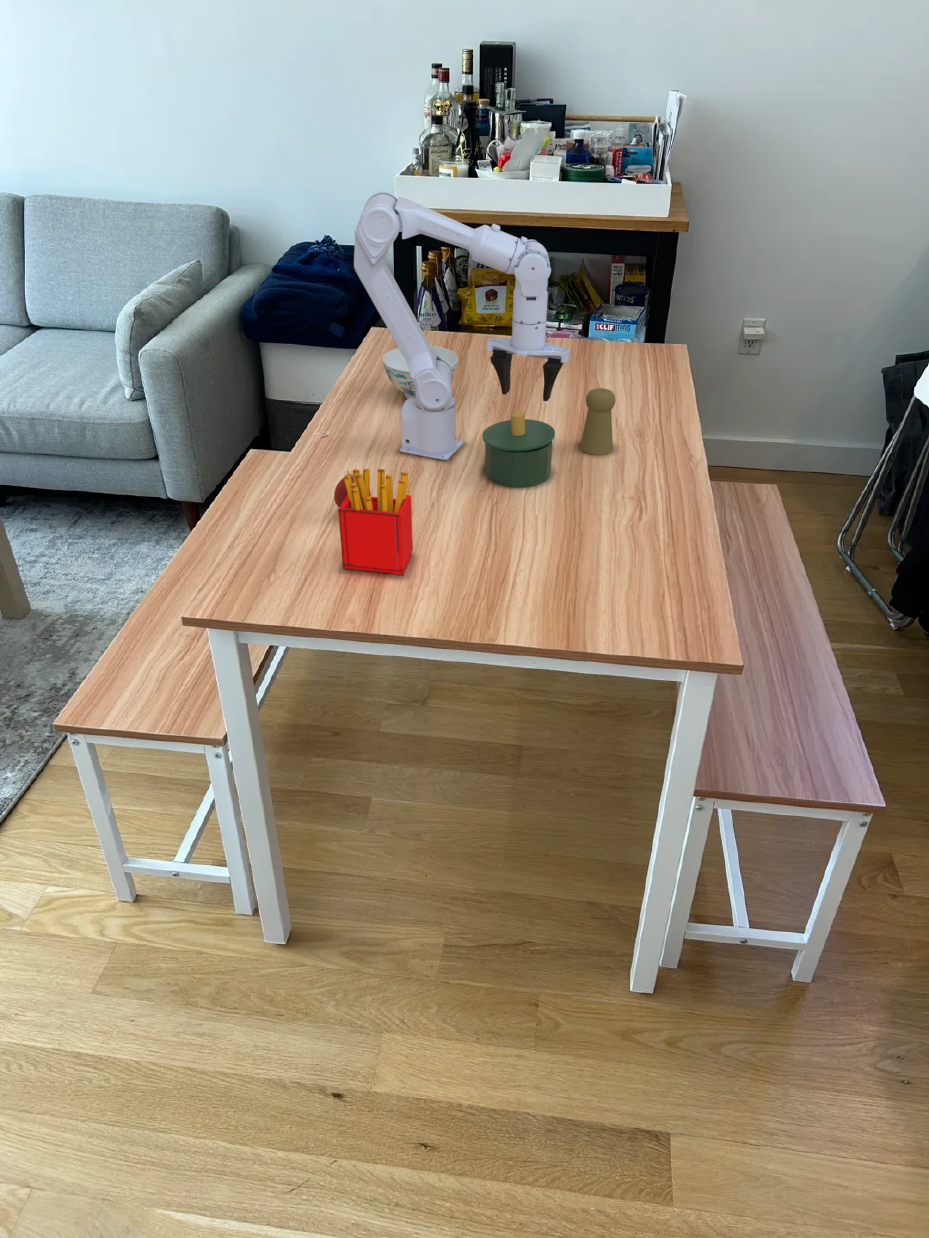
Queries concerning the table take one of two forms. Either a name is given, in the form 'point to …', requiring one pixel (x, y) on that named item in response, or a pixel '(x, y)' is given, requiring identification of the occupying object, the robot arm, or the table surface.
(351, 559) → the french fries container
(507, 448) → the lid
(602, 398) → the olive game pawn
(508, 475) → the tin
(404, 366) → the chinaware
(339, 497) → the onion
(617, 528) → the table surface
